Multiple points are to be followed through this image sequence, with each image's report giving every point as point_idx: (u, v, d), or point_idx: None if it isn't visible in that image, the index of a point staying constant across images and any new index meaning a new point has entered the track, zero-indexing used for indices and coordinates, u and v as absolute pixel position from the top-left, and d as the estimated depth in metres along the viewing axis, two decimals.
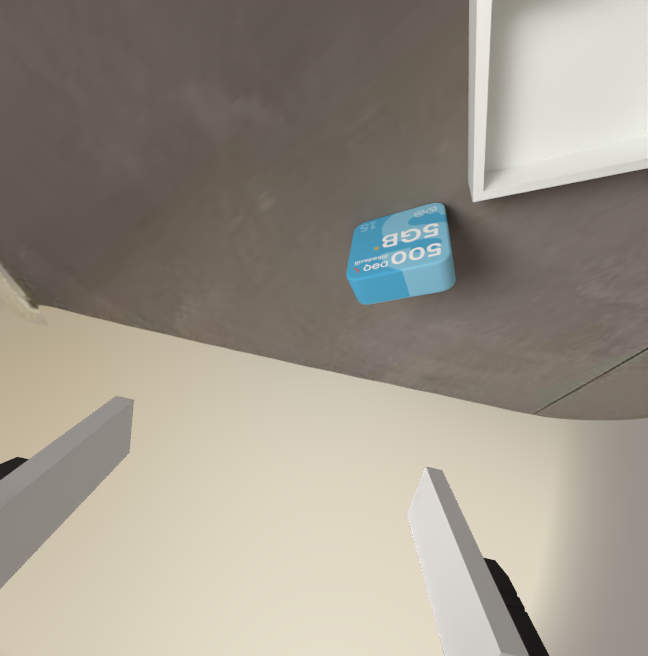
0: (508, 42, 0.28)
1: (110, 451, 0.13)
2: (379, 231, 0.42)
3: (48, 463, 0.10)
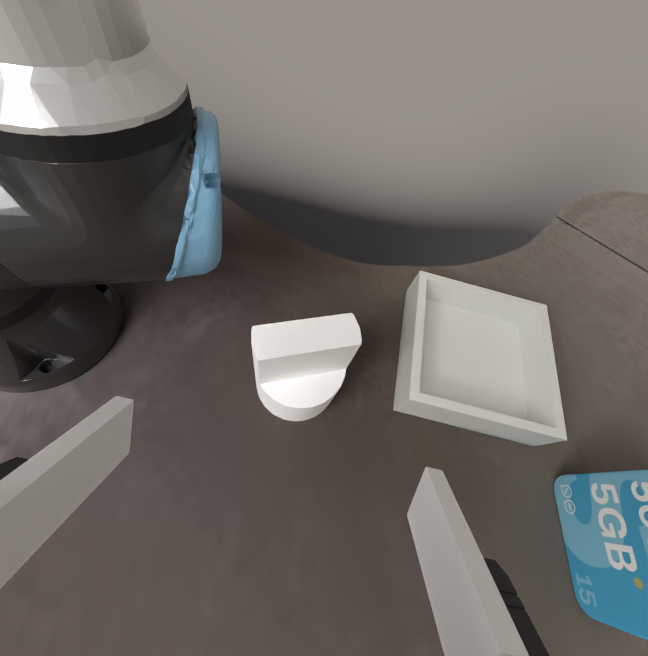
0: (436, 392, 0.37)
1: (110, 451, 0.13)
2: (597, 571, 0.29)
3: (48, 463, 0.10)
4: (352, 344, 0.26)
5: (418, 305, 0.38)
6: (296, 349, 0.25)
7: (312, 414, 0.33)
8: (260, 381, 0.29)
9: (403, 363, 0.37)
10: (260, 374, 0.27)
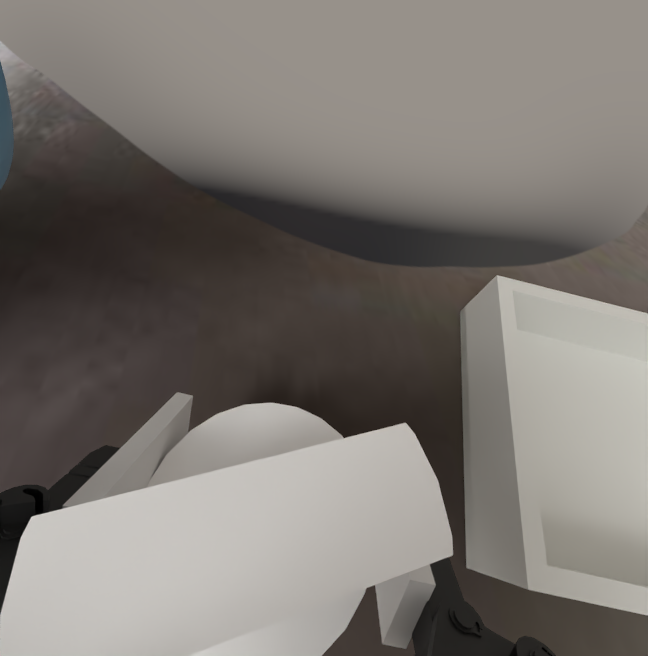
0: (549, 522, 0.18)
1: (175, 442, 0.14)
2: None
3: (139, 450, 0.11)
4: (420, 559, 0.07)
5: (507, 345, 0.19)
6: (202, 624, 0.06)
7: None
8: None
9: (483, 467, 0.18)
10: None
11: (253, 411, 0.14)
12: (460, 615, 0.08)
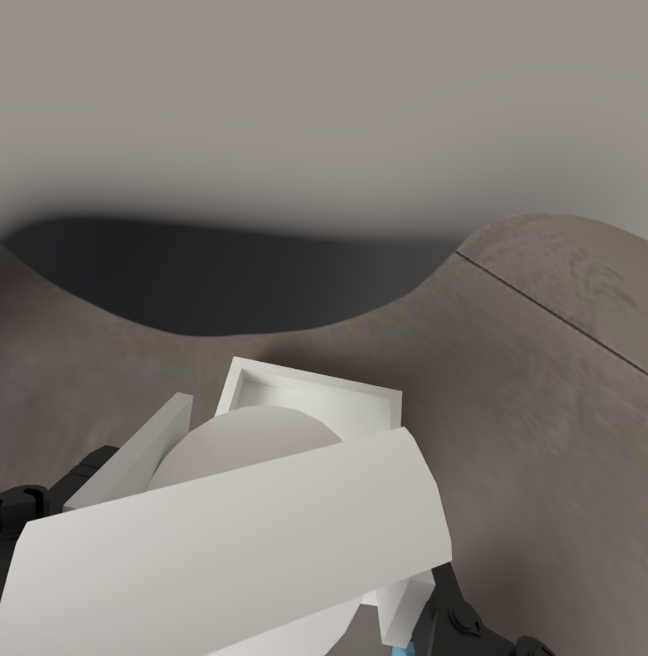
0: None
1: (175, 442, 0.14)
2: None
3: (139, 450, 0.11)
4: (419, 565, 0.07)
5: (218, 411, 0.28)
6: (198, 631, 0.06)
7: None
8: None
9: None
10: None
11: (252, 413, 0.14)
12: (460, 615, 0.08)
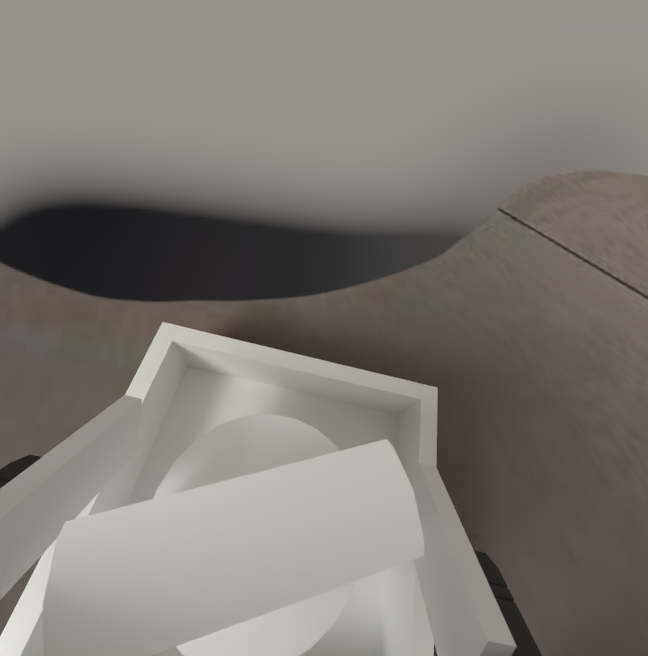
0: None
1: (119, 449, 0.13)
2: None
3: (61, 460, 0.10)
4: (396, 559, 0.08)
5: None
6: (209, 612, 0.07)
7: None
8: None
9: None
10: None
11: (253, 422, 0.15)
12: None
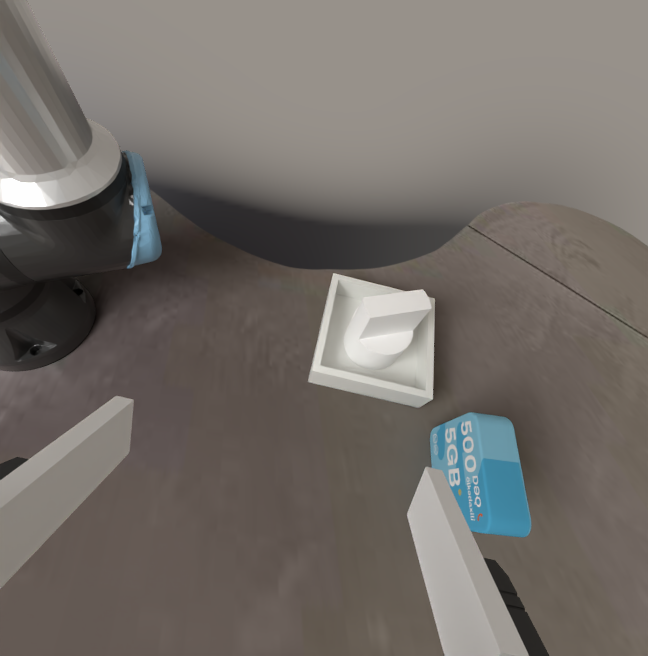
0: (343, 368, 0.48)
1: (110, 451, 0.13)
2: None
3: (48, 463, 0.10)
4: (425, 308, 0.40)
5: (328, 300, 0.48)
6: (392, 311, 0.39)
7: (388, 363, 0.47)
8: (360, 336, 0.43)
9: (316, 345, 0.48)
10: (364, 330, 0.41)
11: None
12: None
